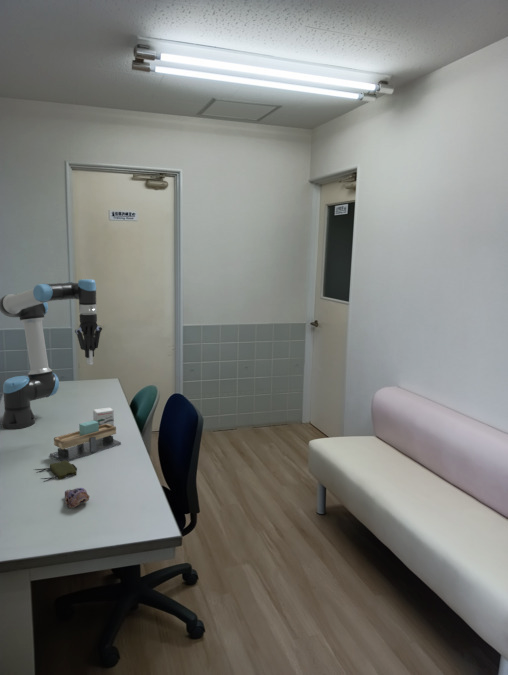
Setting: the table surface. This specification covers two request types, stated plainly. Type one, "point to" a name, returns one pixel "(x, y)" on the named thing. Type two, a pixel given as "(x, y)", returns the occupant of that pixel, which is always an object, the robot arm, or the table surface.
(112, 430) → the beam
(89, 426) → the teal rectangular block
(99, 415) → the ink box
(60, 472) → the electronic device
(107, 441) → the stand
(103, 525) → the table surface
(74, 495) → the purple brown lumpy chunk
